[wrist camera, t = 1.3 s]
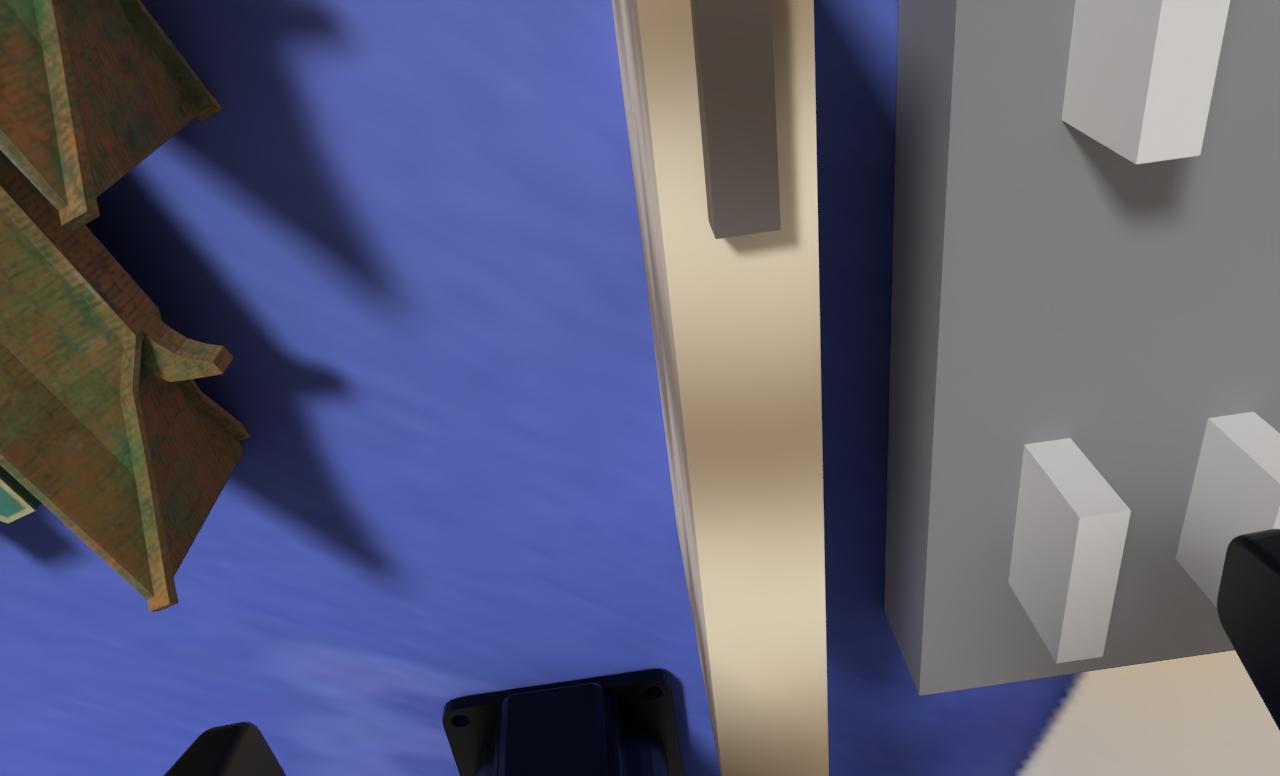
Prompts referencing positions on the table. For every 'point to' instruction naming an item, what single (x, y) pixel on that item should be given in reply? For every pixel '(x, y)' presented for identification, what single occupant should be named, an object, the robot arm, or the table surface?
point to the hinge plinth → (1079, 330)
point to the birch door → (738, 351)
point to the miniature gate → (98, 296)
